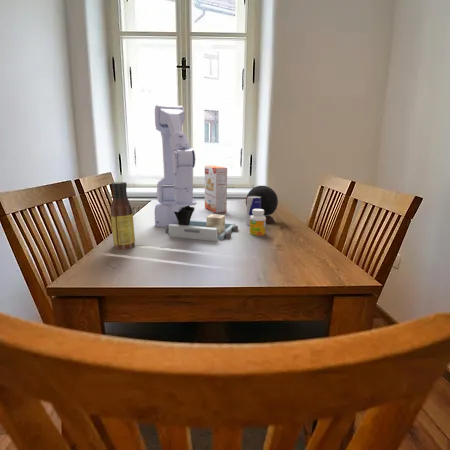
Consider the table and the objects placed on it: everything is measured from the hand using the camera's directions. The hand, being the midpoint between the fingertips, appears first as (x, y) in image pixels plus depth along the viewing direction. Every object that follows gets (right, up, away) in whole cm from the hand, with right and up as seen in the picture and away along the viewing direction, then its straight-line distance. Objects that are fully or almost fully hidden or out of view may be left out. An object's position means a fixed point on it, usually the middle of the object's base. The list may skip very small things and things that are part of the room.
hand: (184, 229), depth 111 cm
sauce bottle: (-17, -6, -8) cm, 20 cm away
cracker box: (+9, +8, +53) cm, 54 cm away
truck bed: (+6, -2, +8) cm, 10 cm away
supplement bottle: (+24, -3, +7) cm, 26 cm away
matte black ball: (+28, +3, +31) cm, 42 cm away
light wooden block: (+10, -1, +6) cm, 12 cm away
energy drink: (+24, 0, +20) cm, 32 cm away
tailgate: (+3, -3, 0) cm, 5 cm away
